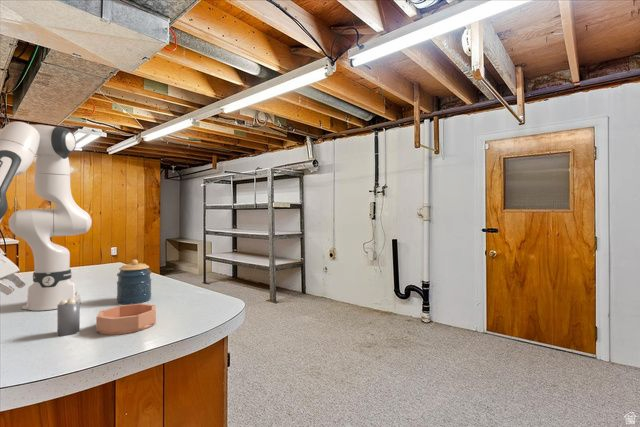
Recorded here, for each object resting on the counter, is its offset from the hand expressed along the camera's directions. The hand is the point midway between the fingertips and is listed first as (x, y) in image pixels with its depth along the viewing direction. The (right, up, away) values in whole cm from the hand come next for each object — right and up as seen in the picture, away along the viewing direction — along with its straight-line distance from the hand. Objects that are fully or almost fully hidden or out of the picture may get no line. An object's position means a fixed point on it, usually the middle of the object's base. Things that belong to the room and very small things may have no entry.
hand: (17, 289), depth 97 cm
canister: (+10, -15, +44) cm, 47 cm away
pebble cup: (+11, -15, +5) cm, 19 cm away
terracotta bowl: (+26, -15, +12) cm, 32 cm away
